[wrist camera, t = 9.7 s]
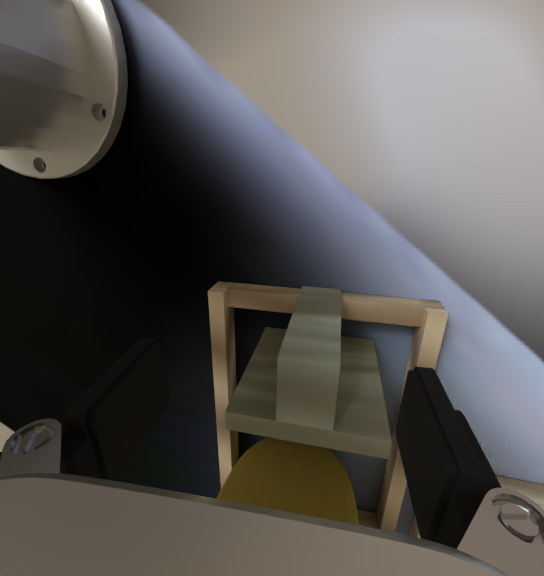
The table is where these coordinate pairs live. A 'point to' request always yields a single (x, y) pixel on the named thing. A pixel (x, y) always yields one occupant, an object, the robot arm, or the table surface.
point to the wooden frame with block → (317, 376)
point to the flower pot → (292, 481)
